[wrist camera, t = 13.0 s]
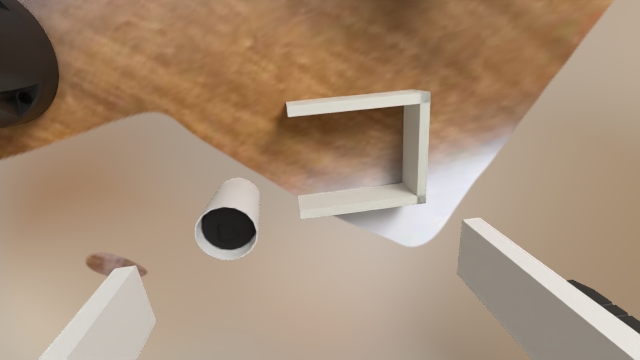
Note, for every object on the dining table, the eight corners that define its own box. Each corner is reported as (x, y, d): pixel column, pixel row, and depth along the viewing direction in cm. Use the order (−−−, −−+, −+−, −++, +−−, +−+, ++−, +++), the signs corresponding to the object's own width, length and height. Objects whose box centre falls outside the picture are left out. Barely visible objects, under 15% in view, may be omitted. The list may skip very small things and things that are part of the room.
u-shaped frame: (285, 101, 37) (286, 106, 33) (412, 89, 39) (430, 91, 34) (298, 203, 42) (300, 219, 38) (410, 189, 44) (425, 203, 39)
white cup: (264, 217, 43) (260, 258, 33) (217, 220, 42) (198, 262, 32) (261, 173, 40) (255, 203, 31) (210, 175, 39) (189, 207, 30)
